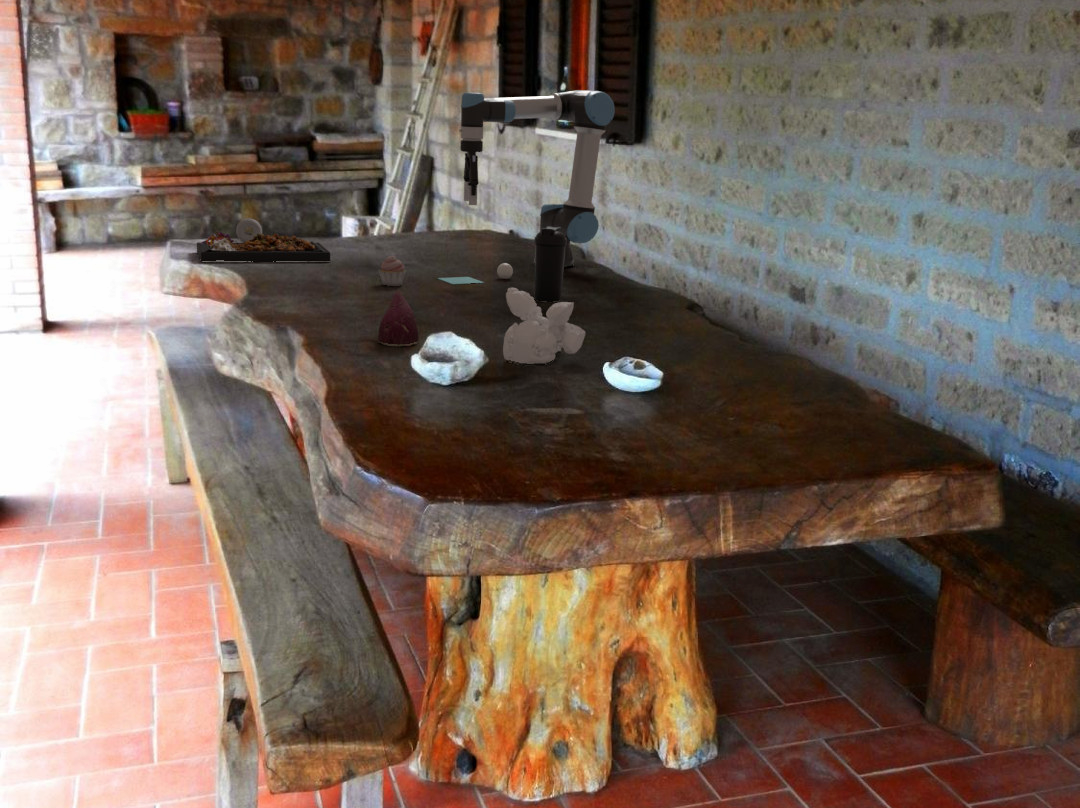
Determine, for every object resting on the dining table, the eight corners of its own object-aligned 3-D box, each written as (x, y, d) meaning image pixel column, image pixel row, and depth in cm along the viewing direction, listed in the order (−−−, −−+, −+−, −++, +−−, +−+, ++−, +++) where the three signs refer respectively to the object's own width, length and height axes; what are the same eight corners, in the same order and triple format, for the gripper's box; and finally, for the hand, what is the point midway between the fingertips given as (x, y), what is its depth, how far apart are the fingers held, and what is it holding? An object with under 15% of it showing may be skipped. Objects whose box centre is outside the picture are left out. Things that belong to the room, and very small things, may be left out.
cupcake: (412, 286, 376) (412, 255, 374) (390, 288, 370) (390, 257, 367) (394, 281, 382) (394, 252, 380) (372, 284, 376) (372, 253, 373)
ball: (507, 277, 402) (508, 261, 401) (515, 279, 398) (516, 264, 396) (494, 277, 400) (494, 262, 398) (501, 280, 395) (502, 264, 394)
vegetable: (380, 350, 299) (374, 293, 298) (420, 346, 299) (414, 289, 299) (377, 349, 288) (371, 290, 288) (418, 345, 289) (412, 286, 288)
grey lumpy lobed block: (480, 327, 274) (516, 275, 285) (495, 385, 288) (528, 333, 299) (551, 342, 266) (585, 287, 278) (563, 401, 280) (594, 347, 292)
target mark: (468, 277, 398) (468, 276, 398) (484, 283, 388) (484, 282, 388) (437, 278, 392) (437, 278, 392) (452, 284, 382) (452, 283, 382)
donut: (262, 243, 454) (261, 218, 451) (262, 244, 450) (262, 219, 448) (236, 243, 451) (235, 217, 449) (236, 244, 448) (235, 218, 445)
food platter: (201, 265, 401) (200, 235, 398) (197, 254, 423) (196, 226, 420) (330, 264, 416) (330, 236, 413) (319, 254, 438) (319, 227, 435)
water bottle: (567, 299, 366) (571, 227, 360) (557, 304, 356) (561, 230, 350) (537, 296, 369) (541, 224, 363) (527, 301, 360) (530, 227, 353)
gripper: (456, 137, 399) (455, 198, 405) (465, 141, 376) (463, 206, 382) (477, 138, 401) (476, 199, 407) (487, 142, 377) (486, 207, 383)
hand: (470, 203), depth 394 cm, fingers open, 13 cm apart
